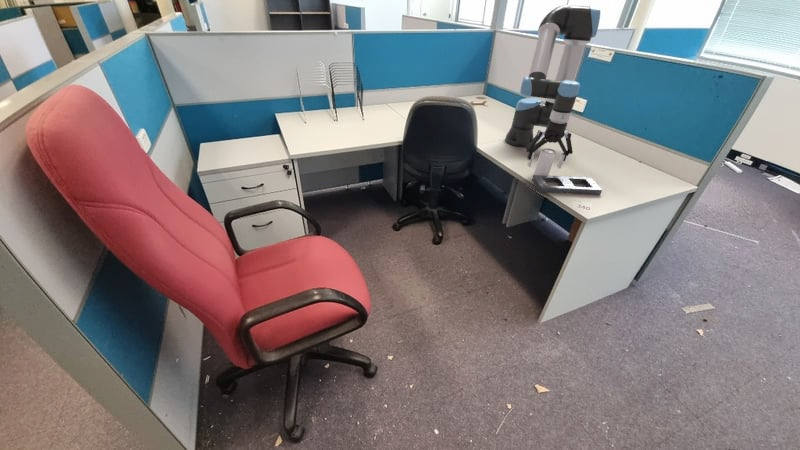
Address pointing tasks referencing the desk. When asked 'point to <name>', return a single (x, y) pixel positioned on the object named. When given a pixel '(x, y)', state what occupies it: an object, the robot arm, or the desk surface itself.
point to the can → (545, 162)
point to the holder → (566, 185)
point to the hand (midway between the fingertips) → (543, 166)
